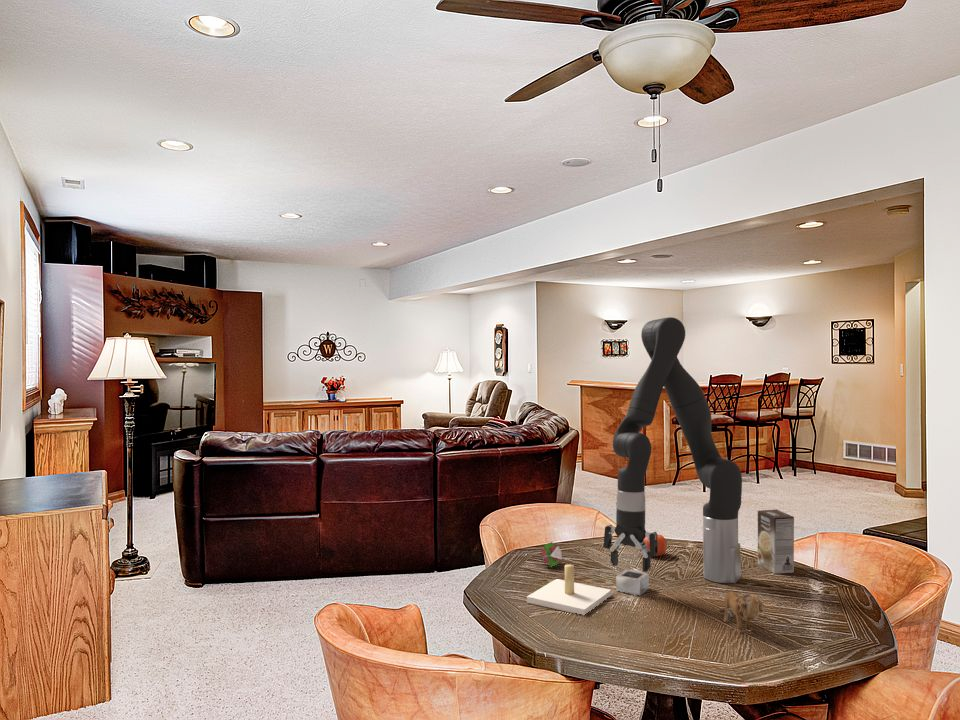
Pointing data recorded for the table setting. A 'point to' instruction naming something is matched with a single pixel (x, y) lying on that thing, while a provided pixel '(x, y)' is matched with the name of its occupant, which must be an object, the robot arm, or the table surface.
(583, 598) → the post board
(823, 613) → the table surface
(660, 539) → the tomato
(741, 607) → the lion figurine
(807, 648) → the table surface
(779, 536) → the coffee box
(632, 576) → the steel collar
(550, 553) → the geometric puzzle
